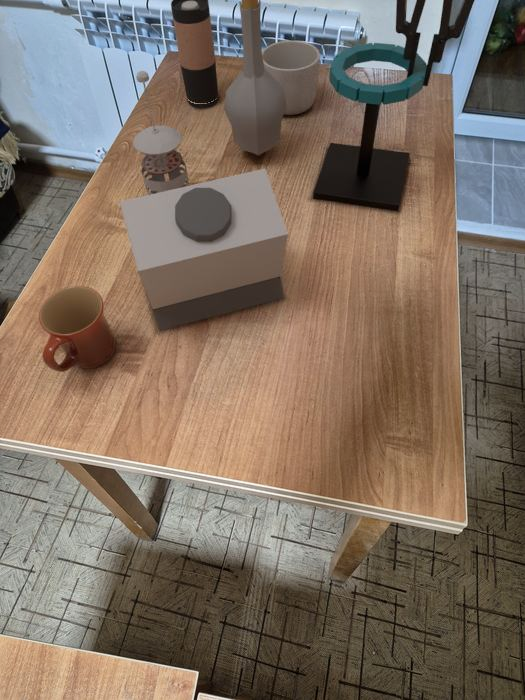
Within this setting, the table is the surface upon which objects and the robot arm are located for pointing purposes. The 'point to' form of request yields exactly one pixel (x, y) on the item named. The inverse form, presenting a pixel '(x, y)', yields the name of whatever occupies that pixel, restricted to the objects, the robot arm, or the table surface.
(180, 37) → the travel mug
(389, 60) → the ring
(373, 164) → the post
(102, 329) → the mug
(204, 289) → the alarm clock
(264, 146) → the bottle
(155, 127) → the french press
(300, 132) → the table surface
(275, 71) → the planter
